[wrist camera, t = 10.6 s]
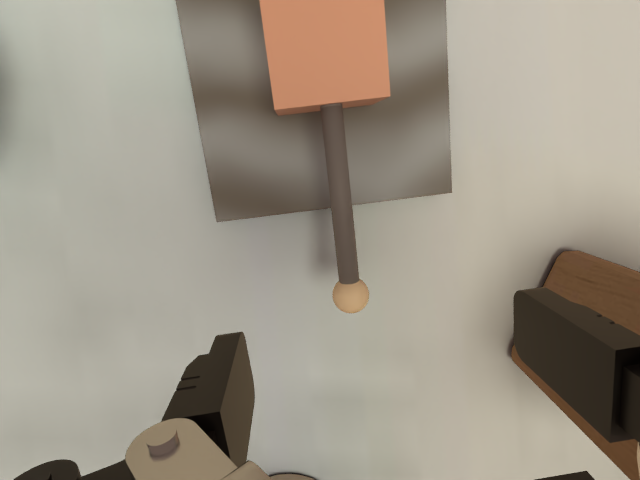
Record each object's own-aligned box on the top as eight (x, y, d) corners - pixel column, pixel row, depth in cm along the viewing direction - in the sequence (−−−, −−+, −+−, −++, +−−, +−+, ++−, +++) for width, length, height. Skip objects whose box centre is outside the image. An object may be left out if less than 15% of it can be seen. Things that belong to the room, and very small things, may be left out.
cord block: (263, 10, 23) (255, -24, 19) (363, -1, 24) (382, -38, 19) (302, 293, 28) (304, 326, 23) (386, 282, 28) (405, 312, 23)
